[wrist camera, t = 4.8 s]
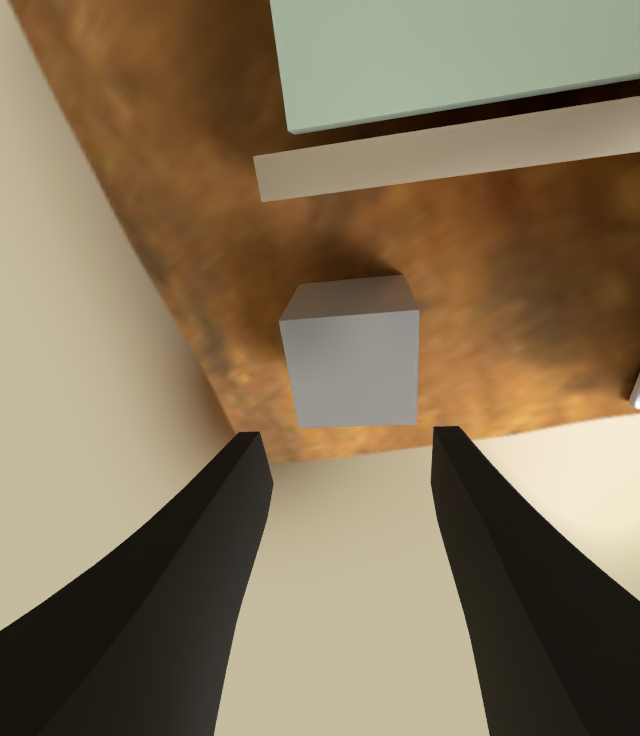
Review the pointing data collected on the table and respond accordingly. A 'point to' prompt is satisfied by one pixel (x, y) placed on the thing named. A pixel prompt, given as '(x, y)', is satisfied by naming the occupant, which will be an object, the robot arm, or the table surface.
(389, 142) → the frame
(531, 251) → the table surface
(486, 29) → the trapdoor
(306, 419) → the granite block
